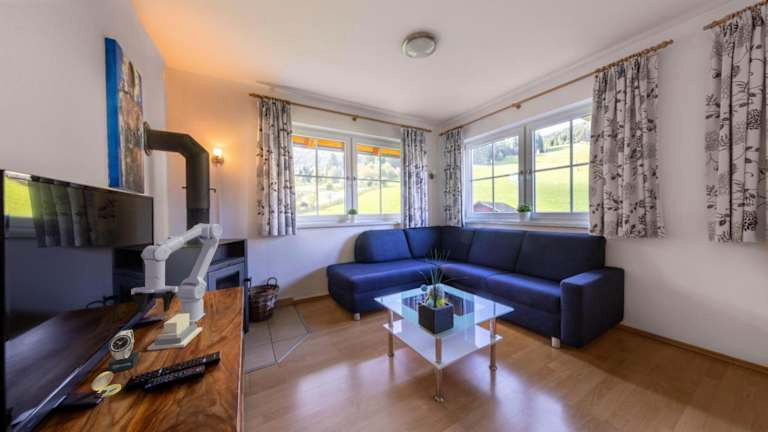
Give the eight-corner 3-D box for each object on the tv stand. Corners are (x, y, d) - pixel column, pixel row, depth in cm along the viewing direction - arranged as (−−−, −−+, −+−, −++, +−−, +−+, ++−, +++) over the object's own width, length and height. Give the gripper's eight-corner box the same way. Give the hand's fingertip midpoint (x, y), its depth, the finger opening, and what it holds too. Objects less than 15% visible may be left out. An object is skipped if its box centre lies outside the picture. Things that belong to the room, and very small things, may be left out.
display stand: (171, 331, 103) (171, 320, 103) (202, 329, 105) (202, 318, 105) (147, 350, 89) (147, 337, 89) (184, 346, 92) (184, 334, 92)
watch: (105, 377, 75) (105, 339, 74) (117, 362, 82) (117, 328, 82) (131, 371, 77) (131, 335, 77) (140, 358, 84) (141, 325, 84)
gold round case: (106, 398, 66) (106, 379, 66) (89, 396, 67) (90, 377, 67) (125, 387, 71) (125, 369, 71) (109, 385, 71) (110, 367, 71)
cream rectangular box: (177, 326, 101) (177, 313, 101) (189, 325, 102) (189, 313, 102) (163, 337, 92) (163, 323, 92) (176, 336, 93) (176, 322, 93)
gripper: (125, 279, 94) (124, 316, 94) (171, 278, 98) (170, 313, 98) (138, 275, 101) (138, 309, 101) (181, 273, 104) (180, 307, 105)
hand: (154, 311), depth 100 cm, fingers open, 7 cm apart
